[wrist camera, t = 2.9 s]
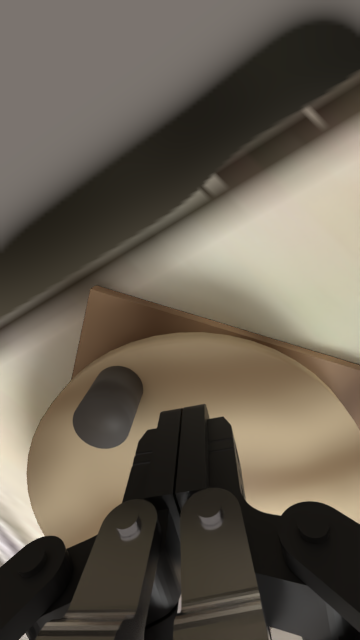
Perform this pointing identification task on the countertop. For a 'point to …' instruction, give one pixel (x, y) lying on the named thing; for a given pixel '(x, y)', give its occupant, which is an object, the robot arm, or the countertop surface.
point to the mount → (153, 319)
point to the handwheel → (221, 400)
